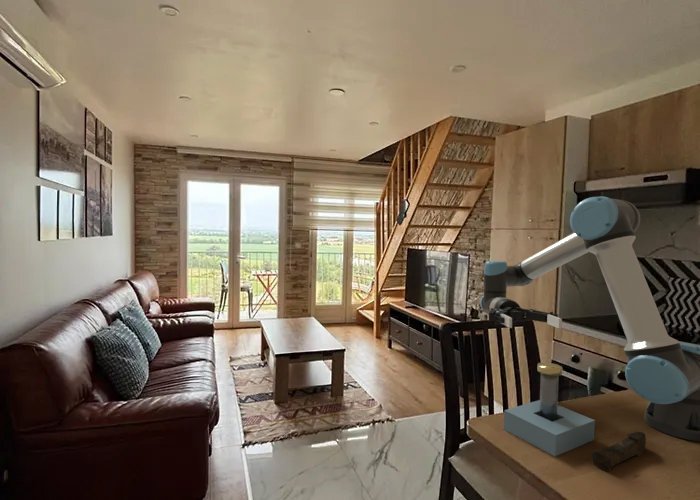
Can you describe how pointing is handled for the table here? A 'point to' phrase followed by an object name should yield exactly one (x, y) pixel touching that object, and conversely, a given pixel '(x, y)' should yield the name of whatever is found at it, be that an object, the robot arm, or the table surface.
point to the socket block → (549, 428)
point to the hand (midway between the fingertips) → (535, 323)
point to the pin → (549, 390)
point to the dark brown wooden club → (619, 451)
